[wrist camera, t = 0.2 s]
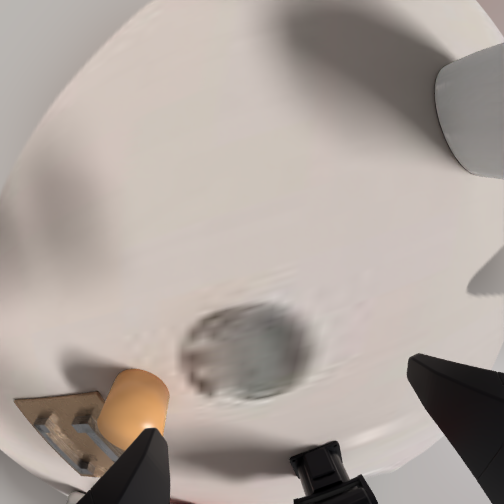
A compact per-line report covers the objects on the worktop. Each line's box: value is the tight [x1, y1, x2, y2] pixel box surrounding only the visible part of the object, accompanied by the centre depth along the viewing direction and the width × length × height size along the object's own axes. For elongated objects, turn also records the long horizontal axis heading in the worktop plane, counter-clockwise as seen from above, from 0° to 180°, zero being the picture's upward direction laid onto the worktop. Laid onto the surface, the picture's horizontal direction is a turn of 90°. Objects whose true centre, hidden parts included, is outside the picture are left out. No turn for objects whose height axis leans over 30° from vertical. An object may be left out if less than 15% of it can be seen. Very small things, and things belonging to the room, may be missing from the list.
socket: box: [14, 391, 125, 477], centre depth 23 cm, size 16×16×2 cm
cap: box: [97, 369, 169, 450], centre depth 20 cm, size 6×6×6 cm
